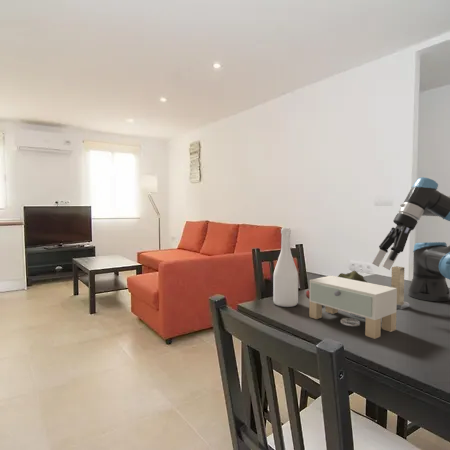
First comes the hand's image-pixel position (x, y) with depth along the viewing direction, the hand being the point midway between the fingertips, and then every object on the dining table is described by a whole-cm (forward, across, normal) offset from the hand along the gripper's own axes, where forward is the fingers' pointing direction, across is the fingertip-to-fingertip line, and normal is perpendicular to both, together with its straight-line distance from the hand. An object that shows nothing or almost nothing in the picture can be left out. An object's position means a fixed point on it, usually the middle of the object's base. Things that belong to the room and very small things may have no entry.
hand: (380, 266), depth 126 cm
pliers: (+24, -8, -12) cm, 28 cm away
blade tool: (+14, +4, +8) cm, 16 cm away
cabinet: (+22, +18, -5) cm, 29 cm away
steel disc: (+22, +18, -4) cm, 29 cm away
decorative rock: (+15, -20, +2) cm, 25 cm away
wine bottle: (+30, 0, -24) cm, 38 cm away
